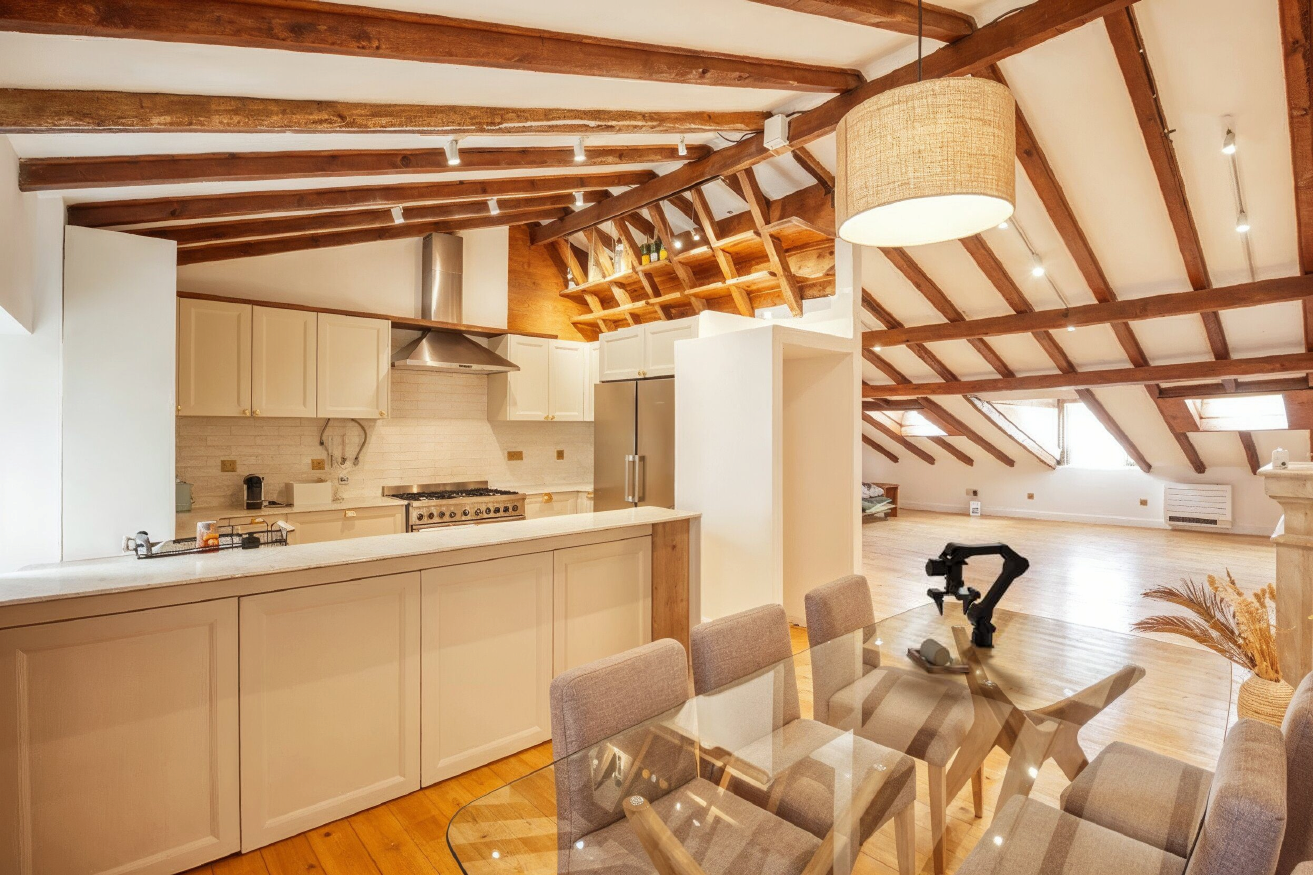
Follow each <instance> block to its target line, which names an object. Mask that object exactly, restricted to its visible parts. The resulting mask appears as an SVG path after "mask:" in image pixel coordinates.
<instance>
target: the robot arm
mask: <svg viewBox="0 0 1313 875" xmlns="http://www.w3.org/2000/svg"><path fill="white" fill-rule="evenodd" d="M991 555H1000V557H1001V558H1002V559H1003V560H1004V561H1003V563H1002V568H1001V573H1000V574H999V575H998V577H997V578H996V579H995V581H994V582H993V584H992V585H991V587H990V588H989V590H988V591H987V592H986V594H985V595H984V597H983V598H982V597H981V596H982V594H981V592H980V590H978V589H976V588H975V587H974V586H966V585H965V580H964V579H963V573H964V572H963V567H964V566H969V563H968V562H967V561H966V560H967V559H969V558H972V557H975V556H977V557H979V556H991ZM927 559H928V560H927V561H926V563H925V566H924V569H925V570H924V571H925V573H926V575H927V577H929V578H933V577H943V578H944V580H945V586H943V590H941V589H939V588H935V587H934V588H931V587H929V588H928V589H927V591H926V596H928V597H929V598H930V599H931V600H933V602H934V603H935V605H936V607H937V610H938V613H939V615H940V616H943V614H944V603H945V600H944V597H954V598H955V599H956V600H957V601H958V602H961V601H962V614H963V616H966V618H967V620H968V621H969V622H970V624H971V626H973V627H972V631H971V639H970V643H972V644H973V645H975V646H976V647H977V648H995V647H994V646H995V645H994V644H993V636H994V633H996V630H997V626H995V625H994V624H993V623H992V622H991V621H992V619H993V614H994V609H995V608H996V606H997V604H998V603H999V602H1000V601H1001V599H1003V596H1004V595H1005V594H1006V592H1007V590H1008V589H1009V588H1010V586H1011V585H1012V584H1013V582H1014V581H1015V579H1017V578H1019V577H1021V576H1023V575H1024V574H1025V572H1027V571H1028V569H1030V561H1029V560H1028V558H1026V557H1024V556H1022V555H1020V554H1019V553H1017V552H1016V551H1015V550H1013V548H1011V547H1010V546H1009V545H1008V544H1006V543H1004V542H1002V541H997V542H990V543H988V542H987V543H974V544H966V543H962V542H961V543H960V542H953V541H951V542H947V543H946V544H945V546H944V549H943V550H942V552H941V553H940V554H939V555H938V557H937V558H927ZM981 598H982V599H981ZM980 599H981V601H979V602H978V603H976V602H977V601H978V600H980Z"/></svg>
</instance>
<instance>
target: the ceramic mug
mask: <svg viewBox="0 0 1313 875" xmlns="http://www.w3.org/2000/svg"><path fill="white" fill-rule="evenodd" d="M945 647H946V646H944V645H942V644H941V643H939V642H938V641H937V640H935V639H933V638H927V639H925V640H923V641H922V643H921V645H920V647H919V648H920V653H921V655H920V656H921V657H922V658H923V659H924V660H927V661H928V662H930V663H932V664H933V665H934V666H947V664H948V663H953V661H954V658H953V657H952V656H951V652H950V650H949V649H948V648H947V647H946V648H947V649H946V648H945Z"/></svg>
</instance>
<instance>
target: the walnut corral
mask: <svg viewBox="0 0 1313 875" xmlns="http://www.w3.org/2000/svg"><path fill="white" fill-rule="evenodd" d="M944 647H945V648H946V649H947V650H948V647H946V646H944ZM908 653H909V654H910V655H911V656H910V655H909V654H908ZM907 654H908V655H909V656H910V657H911V659H913V660H914V661H915V662H916V663H917V664H918V665H919V666H920V667H921V668H922V669H923V670H924V671H926V673H928V674H929V675H930V674H959V673H960V672H965V671H969V672H970V666H969V665H967V664H965V665H964V664H959V665H958V664H957V665H944V666H937V665H931V664H929V662H927V661H926V659H925V658H924V657H922V655H921V653H920V647H909V648H907ZM960 674H961V673H960Z"/></svg>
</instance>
